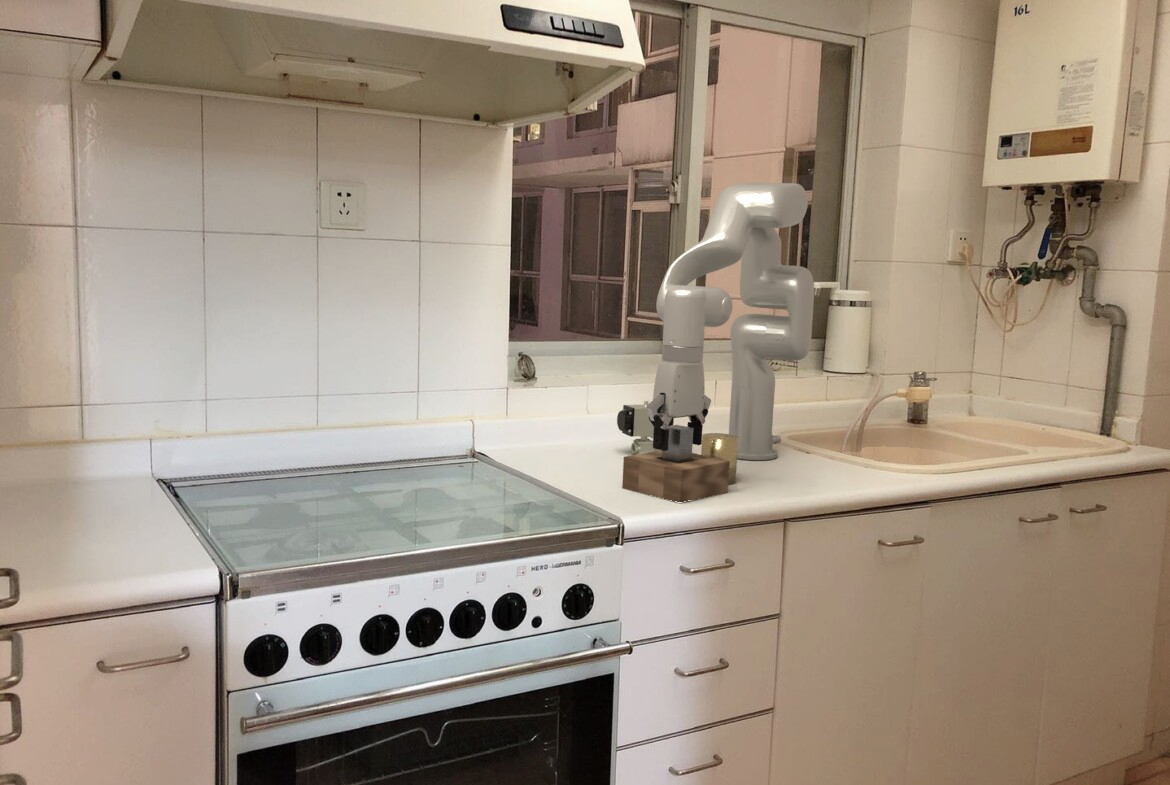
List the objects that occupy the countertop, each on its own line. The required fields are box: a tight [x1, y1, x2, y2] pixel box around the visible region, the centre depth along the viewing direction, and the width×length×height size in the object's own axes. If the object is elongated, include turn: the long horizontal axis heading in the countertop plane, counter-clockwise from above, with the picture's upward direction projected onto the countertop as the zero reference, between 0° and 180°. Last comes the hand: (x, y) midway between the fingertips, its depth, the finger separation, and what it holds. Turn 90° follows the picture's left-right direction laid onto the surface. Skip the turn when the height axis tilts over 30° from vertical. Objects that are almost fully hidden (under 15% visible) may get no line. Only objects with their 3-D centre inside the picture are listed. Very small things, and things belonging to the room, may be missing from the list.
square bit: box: [661, 424, 694, 464], centre depth 183 cm, size 4×4×12 cm
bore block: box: [621, 450, 730, 503], centre depth 184 cm, size 14×14×6 cm
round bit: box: [700, 432, 738, 486], centre depth 192 cm, size 7×7×9 cm
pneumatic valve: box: [616, 400, 675, 455], centre depth 215 cm, size 6×12×12 cm, turn 112°
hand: (677, 446), depth 183 cm, fingers open, 9 cm apart
